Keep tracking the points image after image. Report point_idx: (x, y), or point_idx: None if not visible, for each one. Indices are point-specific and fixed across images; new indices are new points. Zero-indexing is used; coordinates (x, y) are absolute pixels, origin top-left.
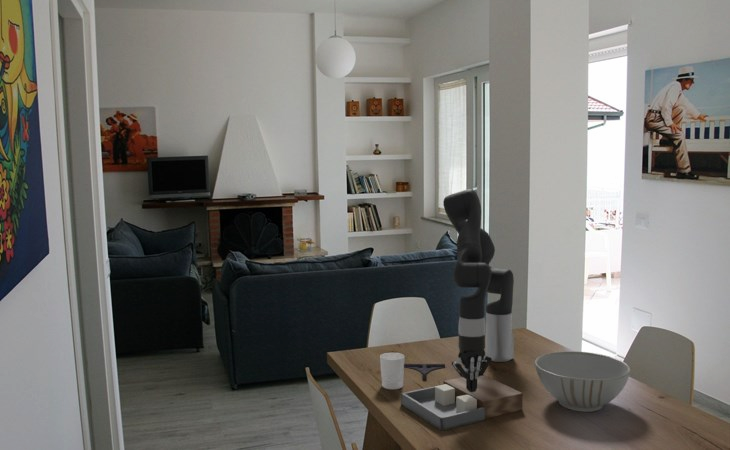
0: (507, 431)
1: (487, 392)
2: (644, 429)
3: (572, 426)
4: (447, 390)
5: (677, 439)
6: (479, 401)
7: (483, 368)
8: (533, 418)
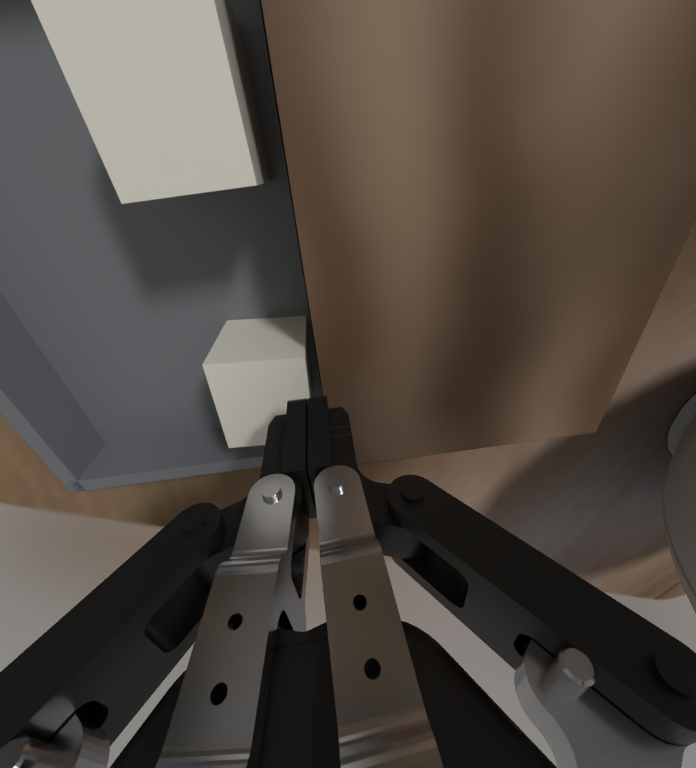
0: None
1: (449, 364)
2: (645, 553)
3: (538, 515)
4: (167, 196)
5: (633, 585)
6: None
7: (450, 602)
8: (500, 452)
